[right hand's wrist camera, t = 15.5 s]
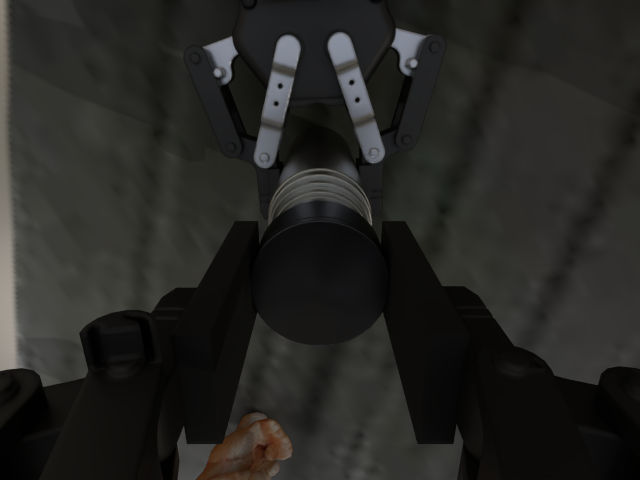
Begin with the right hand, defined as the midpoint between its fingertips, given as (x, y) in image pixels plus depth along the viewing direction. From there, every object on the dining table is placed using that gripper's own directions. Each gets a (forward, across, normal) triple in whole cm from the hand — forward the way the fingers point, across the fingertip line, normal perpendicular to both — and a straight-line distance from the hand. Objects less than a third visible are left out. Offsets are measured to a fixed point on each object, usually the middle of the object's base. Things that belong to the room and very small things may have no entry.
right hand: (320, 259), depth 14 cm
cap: (-2, 0, 0) cm, 2 cm away
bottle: (+18, 0, 0) cm, 18 cm away
